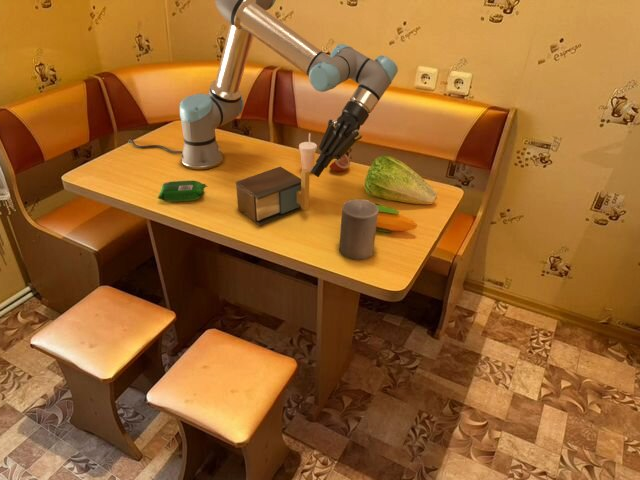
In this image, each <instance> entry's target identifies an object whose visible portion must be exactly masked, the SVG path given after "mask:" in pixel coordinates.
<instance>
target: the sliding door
mask: <svg viewBox="0 0 640 480" xmlns="http://www.w3.org/2000/svg"><path fill="white" fill-rule="evenodd" d="M300 178H301V184H299V185H296V186H294V187H291V188H288V189H286V190H283V191H280V213H281V214H283V213H286V212H288V211H291V210H293V209H296V208H298V207H301V209H302V211H304V212H305V211H308V210H309V208H310V173H309V171H308V170H306V169H304V170H302V169H301V170H300Z"/></svg>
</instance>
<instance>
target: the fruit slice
mask: <svg viewBox="0 0 640 480" xmlns="http://www.w3.org/2000/svg"><path fill="white" fill-rule="evenodd" d="M350 165H351V161H350V158H349V156H348V155H347V154H346V153H344V154H343V155H342V157H341V158H340V159H338V160H337V159H335V160H334V161H333V162H332V163H331V164H329V168H330V169H331V170H332V171H334V172H343V171H346V170H347V169H349V168H350Z"/></svg>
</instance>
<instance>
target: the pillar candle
mask: <svg viewBox="0 0 640 480" xmlns="http://www.w3.org/2000/svg"><path fill="white" fill-rule="evenodd" d="M375 204H376V203H375V202H372V201H370V200H368V199H357V198H356V199H350V200H348V201H345V202H344V203H343V204H342V206H341V217H340V233H339V234H340V235H339V236H340V237H339V247H338V251H339V253H340V254H341V256H343V257H345V258H347V259H350V260H355V261H358V260H365V259H369V258H370V257H372V255H373V253H374V249H375V241H376V233H377V230H376V229H377V228H376V225H377V217H378V207H377V206H376V205H375Z"/></svg>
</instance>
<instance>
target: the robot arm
mask: <svg viewBox="0 0 640 480" xmlns="http://www.w3.org/2000/svg"><path fill="white" fill-rule="evenodd" d="M214 3H215V6H216V8H217V10H218V12H219V14H220V16H222V18H223V19H224V20H226V22H228V23H229V25H228V30H227V34H226V37H225V41H224V45H223V50H222V54H221V57H220V63H219V66H218V71H217V75H216V79H214V80H213V81H212V82H211V83H210V85H209V90H208V93H207V94H206V93H195V94H191V95H188V96H186V97H184V98H183V99H182V100H181V101H180V103H179V117H180V118H179V119H180V125H181V130H182V137H183V147H182V150H171V149H169V148H167V147H165V146H164V145H159V144H148V145H138V144H136V143H135V142H134V140H133V139H131V138H130V139H129V140H128V143H131V144H132V145H133V146H134V148H138V149H149V148H159V149H163V150H165V151H166V152H168V153H170V154H181V164H182V166H183V167H185V168H187V169H189V170H193V171H194V170H195V171H204V170H205V171H206V170H211V169H214V168H216V167H219V166H220V165H221V164H222V163H223V161H224V157H223V153H222V151H221V146H220V145H219V144H218V142H217V138H216V129H217V128H220V127H221V126H224V125H226V124H227V123H229V122H232V121H234V120H235V119H237V118H238V117H239V116H240V115H241V114H242V112H243V110H244V104H245V102H244V99H243V91H242V89H241V88H240V86H241V83H242V80H243V75H244V72H245V68H246V65H247V61H248V58H249V55H250V51H251V48H252V45H253V40H254V38H256V40H259V42H261V43H262V44H264V45H265V46H267V47H268V48H269V49H271V50H272V51H273V52H275V53H276V54H278V55H279V56H280V57H282V58H283V59H284V60H286V61H287V62H288V63H290V64H291V65H293V66H294V67H296V68H297V69H298V70H300V71H301V72H302V73H304V74H306V76H308V80H309V83H310V85H311V86H312V88H313V89H314V90H315V91H317V92H320V93H324V92H328V91H330V90H334V89H335V88H336V87H338V86H339V85H341V84H342V83H344V82H346V81H348V80H352V81H353V82H355V83H357V84H358V85H357V87H356V89H355V91H354V92H353V93H352V95H351V96H350V98H349V101H347V102H346V103H345V105H344V106H343V108H342V111H341V115H339V116H338V117H337V118H336V119H335V120H332V119H329V120H328V121H327V122H328V123H327V127H326V130H325V132H324V134H323V137H322V139H321V141H320V143H319V146H318V150H320V154H319V156H318V158H316V161H315V164H314V165H313V169H312V170H311V172H310V173H312V174H313V176H315V177H317V178H319V177H320V176H321V175H322V173H323V171H324V170H325V169H327V168H328V166H330V163H331V162H332V161H333V160H338V159H340V158H341V157H342V156H343V155H344V154H346V153H347V151H348V150H349V149H351V147H352V146H353V145H354V144H355V143H357V141H359V140H361V139H362V138H363V136H362V134H361V133H360V129H361V126H363V125H364V124H365V122H366V121H367V120H368V118H369V115H370V114H371V113H372V112H373V111H374V109H375V107H376V106H377V105H378V104H379V102H380V100H381V98H382V97H383V96H384V94H385V93H386V91H387V90H388V88H389V87H390V86H391V84H392V82H393V80H394V79H395V77H396V75H397V73H398V71H399V68H398V65H397V64H396V62H395V61H394V60H393V59H391V58H390V57H388V56H384V55H383V54H381V55H380V54H379V55H378V56H377V57H376V58H375V59H372V58H369V57H368V56H366V55H365V54H363V53H361V51H358V50H356V49H355V48H353V47H352V46H349V45H347V44H345V43H338V44H337V45H336V46H335V47H334V48H333V49H332V51H331V53H330V55H328V54H326V52H324V51H322V50H321V49H319V48H318V47H317V46H316V45H315V44H313V43H311V42H310V41H308V40H307V39H306V38H305V37H303V36H302V35H300V34H299V33H297V32H296V31H295V30H293V29H292V28H291V27H289V26H287V24H285V23H284V22H283V21H281V20H279V19H278V18H277V17H276V16H274V15H273V14H272V13H270V12H269V11H268V10H271V8H272V7H273V6H274V5H275V4H276V0H214Z"/></svg>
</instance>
